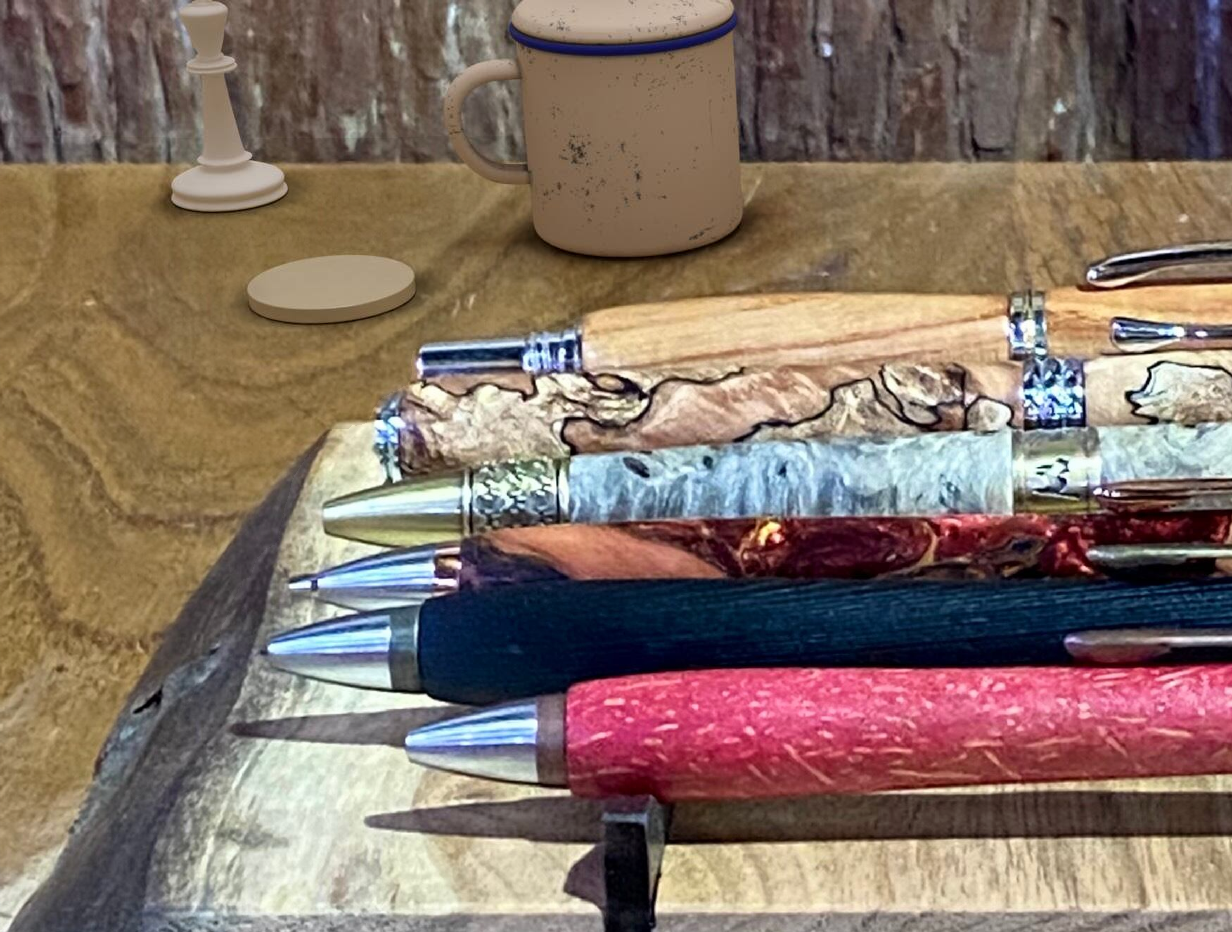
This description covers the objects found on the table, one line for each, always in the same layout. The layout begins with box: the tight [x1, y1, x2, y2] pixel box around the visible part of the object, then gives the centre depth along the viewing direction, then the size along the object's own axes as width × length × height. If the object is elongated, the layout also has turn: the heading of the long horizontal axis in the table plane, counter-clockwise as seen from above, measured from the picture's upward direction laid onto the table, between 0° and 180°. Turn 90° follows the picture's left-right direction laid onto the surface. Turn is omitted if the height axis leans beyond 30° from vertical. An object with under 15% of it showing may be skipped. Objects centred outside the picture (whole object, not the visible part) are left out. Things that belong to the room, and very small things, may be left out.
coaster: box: [246, 254, 417, 324], centre depth 104 cm, size 6×6×1 cm
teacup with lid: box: [443, 0, 744, 258], centre depth 108 cm, size 12×9×12 cm
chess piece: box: [170, 0, 289, 212], centre depth 114 cm, size 5×5×10 cm
